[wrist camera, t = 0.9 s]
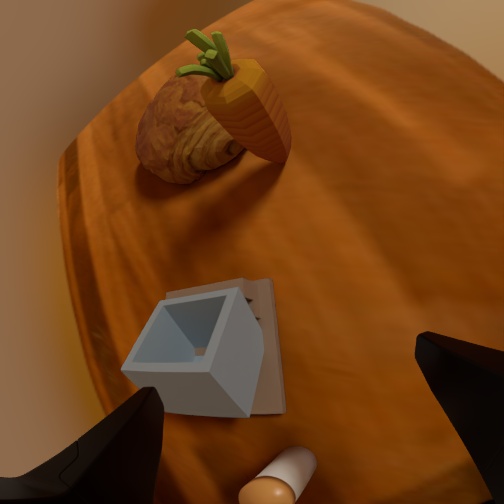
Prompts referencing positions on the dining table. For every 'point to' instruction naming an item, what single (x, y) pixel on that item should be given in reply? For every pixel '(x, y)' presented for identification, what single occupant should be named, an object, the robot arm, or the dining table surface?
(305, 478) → the orange-topped white peg
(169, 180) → the croissant
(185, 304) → the leaning socket
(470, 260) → the dining table surface
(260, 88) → the carrot
